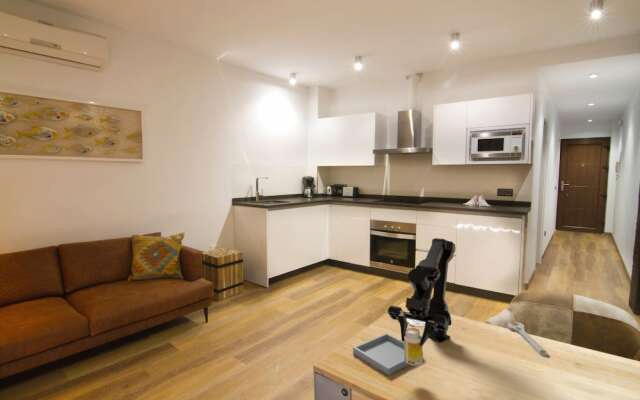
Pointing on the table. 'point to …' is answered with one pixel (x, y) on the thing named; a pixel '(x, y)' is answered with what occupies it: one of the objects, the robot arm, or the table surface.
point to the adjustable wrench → (527, 337)
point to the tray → (383, 353)
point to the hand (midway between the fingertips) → (411, 343)
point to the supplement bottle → (412, 347)
